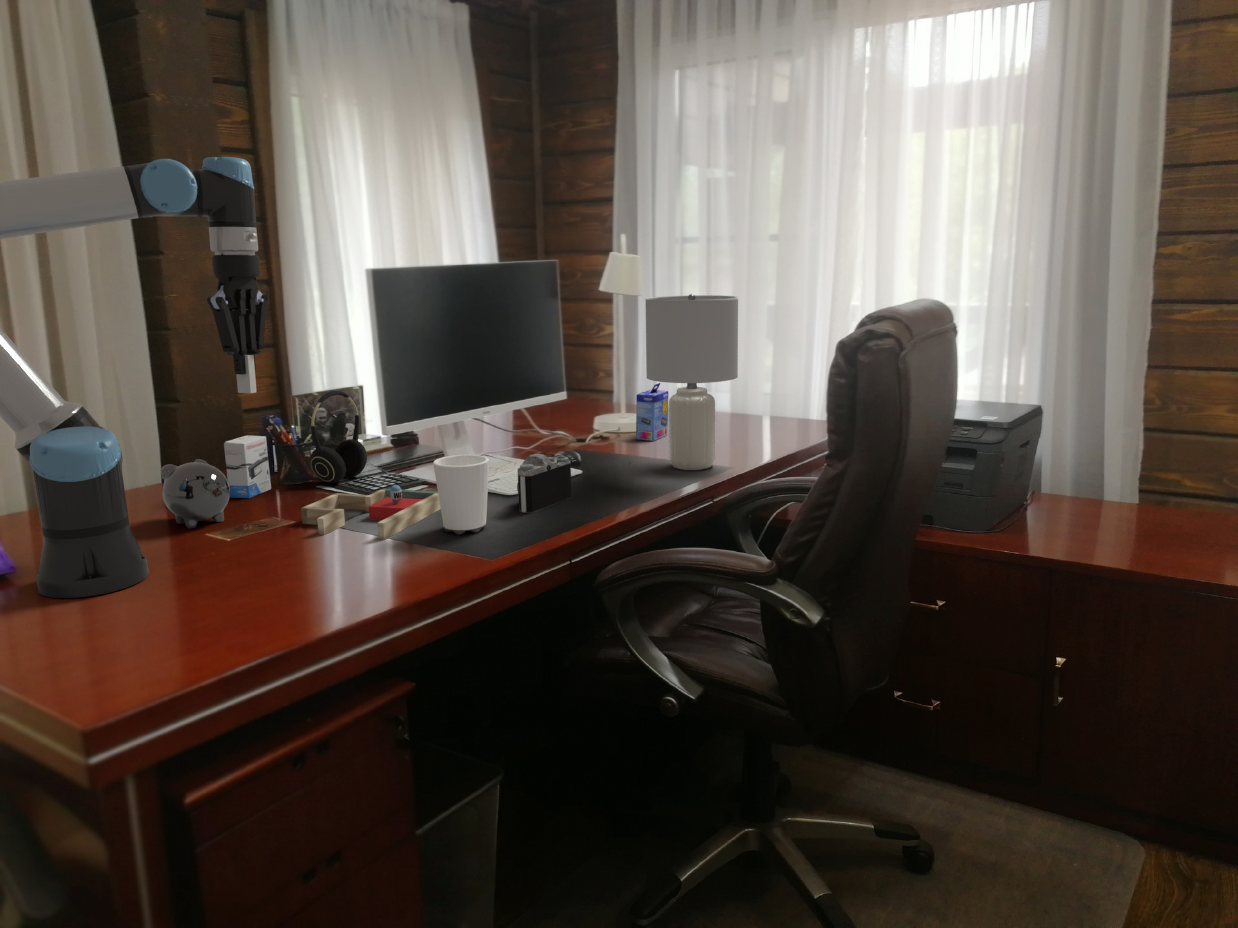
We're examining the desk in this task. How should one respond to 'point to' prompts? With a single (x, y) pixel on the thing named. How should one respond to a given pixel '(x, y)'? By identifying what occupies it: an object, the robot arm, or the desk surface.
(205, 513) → the piggy bank
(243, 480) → the ink box
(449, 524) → the cup
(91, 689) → the desk surface
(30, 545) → the desk surface
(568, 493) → the camera
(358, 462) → the headphones
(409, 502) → the red rectangular block
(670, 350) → the lamp
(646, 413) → the ink cartridge box
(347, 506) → the channel
